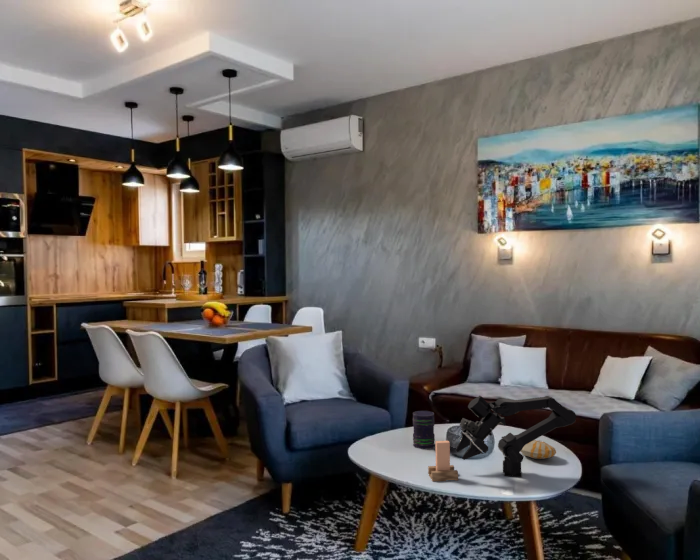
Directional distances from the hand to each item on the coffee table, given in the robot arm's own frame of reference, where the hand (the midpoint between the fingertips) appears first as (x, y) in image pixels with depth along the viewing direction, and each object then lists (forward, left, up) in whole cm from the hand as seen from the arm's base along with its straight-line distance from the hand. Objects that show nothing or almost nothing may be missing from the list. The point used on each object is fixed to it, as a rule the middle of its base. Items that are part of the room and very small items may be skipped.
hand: (459, 454), depth 222 cm
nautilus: (-30, -31, -9) cm, 44 cm away
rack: (+6, +2, -8) cm, 11 cm away
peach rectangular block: (+6, +2, -8) cm, 10 cm away
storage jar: (+18, -35, -9) cm, 41 cm away
